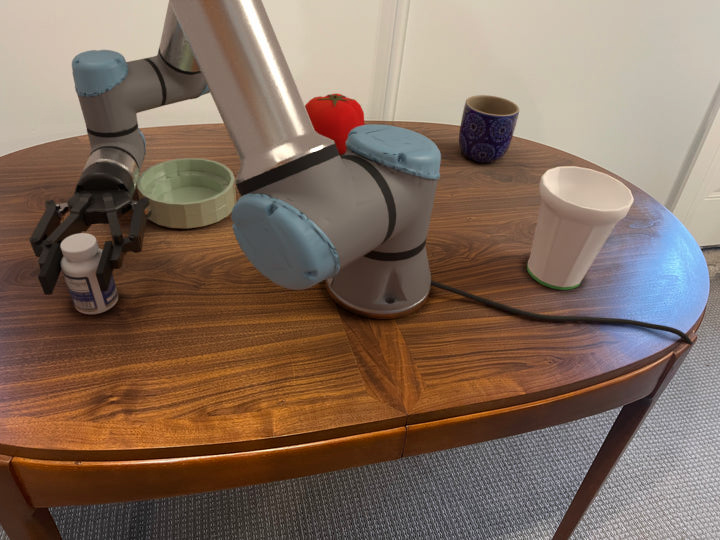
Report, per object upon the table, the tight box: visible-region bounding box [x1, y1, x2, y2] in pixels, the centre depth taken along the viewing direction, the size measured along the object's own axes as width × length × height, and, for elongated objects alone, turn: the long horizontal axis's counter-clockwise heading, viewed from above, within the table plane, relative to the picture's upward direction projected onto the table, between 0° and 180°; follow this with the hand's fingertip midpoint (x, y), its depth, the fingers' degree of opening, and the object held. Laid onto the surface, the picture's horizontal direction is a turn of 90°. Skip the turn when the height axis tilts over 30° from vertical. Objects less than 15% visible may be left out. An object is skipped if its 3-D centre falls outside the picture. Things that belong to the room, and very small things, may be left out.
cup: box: [526, 165, 635, 291], centre depth 79 cm, size 12×12×15 cm
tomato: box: [304, 93, 366, 155], centre depth 107 cm, size 12×13×12 cm
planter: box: [458, 94, 520, 164], centre depth 111 cm, size 11×11×11 cm
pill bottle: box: [60, 232, 119, 315], centre depth 68 cm, size 5×5×10 cm
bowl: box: [136, 157, 237, 230], centre depth 89 cm, size 15×15×5 cm
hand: (73, 283), depth 62 cm, fingers closed on pill bottle, 5 cm apart
